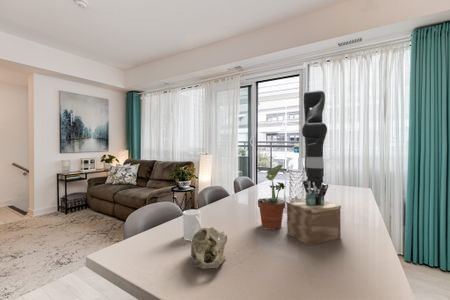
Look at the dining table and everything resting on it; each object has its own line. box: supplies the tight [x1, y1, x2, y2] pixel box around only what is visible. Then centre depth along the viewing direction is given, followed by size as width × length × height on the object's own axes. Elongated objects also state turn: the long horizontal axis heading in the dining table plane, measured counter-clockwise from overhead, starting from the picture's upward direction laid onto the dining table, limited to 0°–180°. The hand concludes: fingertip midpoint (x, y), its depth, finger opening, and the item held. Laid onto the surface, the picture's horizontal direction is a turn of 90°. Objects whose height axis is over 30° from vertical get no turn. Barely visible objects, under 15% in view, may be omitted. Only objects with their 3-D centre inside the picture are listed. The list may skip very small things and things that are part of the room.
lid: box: [290, 192, 342, 213], centre depth 101 cm, size 14×16×6 cm
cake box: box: [286, 200, 342, 246], centre depth 103 cm, size 14×19×15 cm
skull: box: [190, 226, 228, 269], centre depth 81 cm, size 11×20×15 cm
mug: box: [182, 209, 202, 240], centre depth 102 cm, size 12×8×12 cm
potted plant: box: [257, 164, 286, 231], centre depth 116 cm, size 16×15×35 cm
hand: (315, 203), depth 101 cm, fingers closed on lid, 3 cm apart
